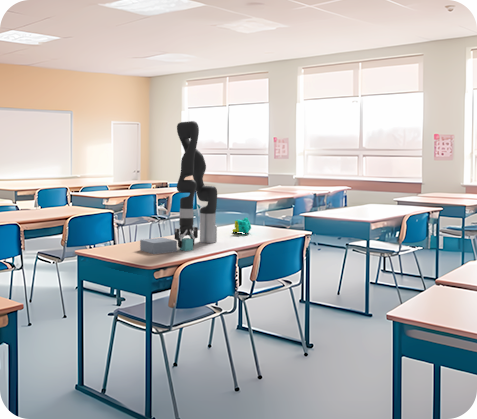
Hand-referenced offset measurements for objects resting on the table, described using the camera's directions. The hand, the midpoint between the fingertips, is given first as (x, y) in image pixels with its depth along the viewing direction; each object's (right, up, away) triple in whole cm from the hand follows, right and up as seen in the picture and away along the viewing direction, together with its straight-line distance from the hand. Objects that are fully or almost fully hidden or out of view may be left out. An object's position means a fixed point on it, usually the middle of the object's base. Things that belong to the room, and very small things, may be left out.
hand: (186, 246), depth 290 cm
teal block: (0, -2, 0) cm, 2 cm away
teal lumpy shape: (+31, +4, +66) cm, 73 cm away
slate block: (-14, -2, -5) cm, 15 cm away
